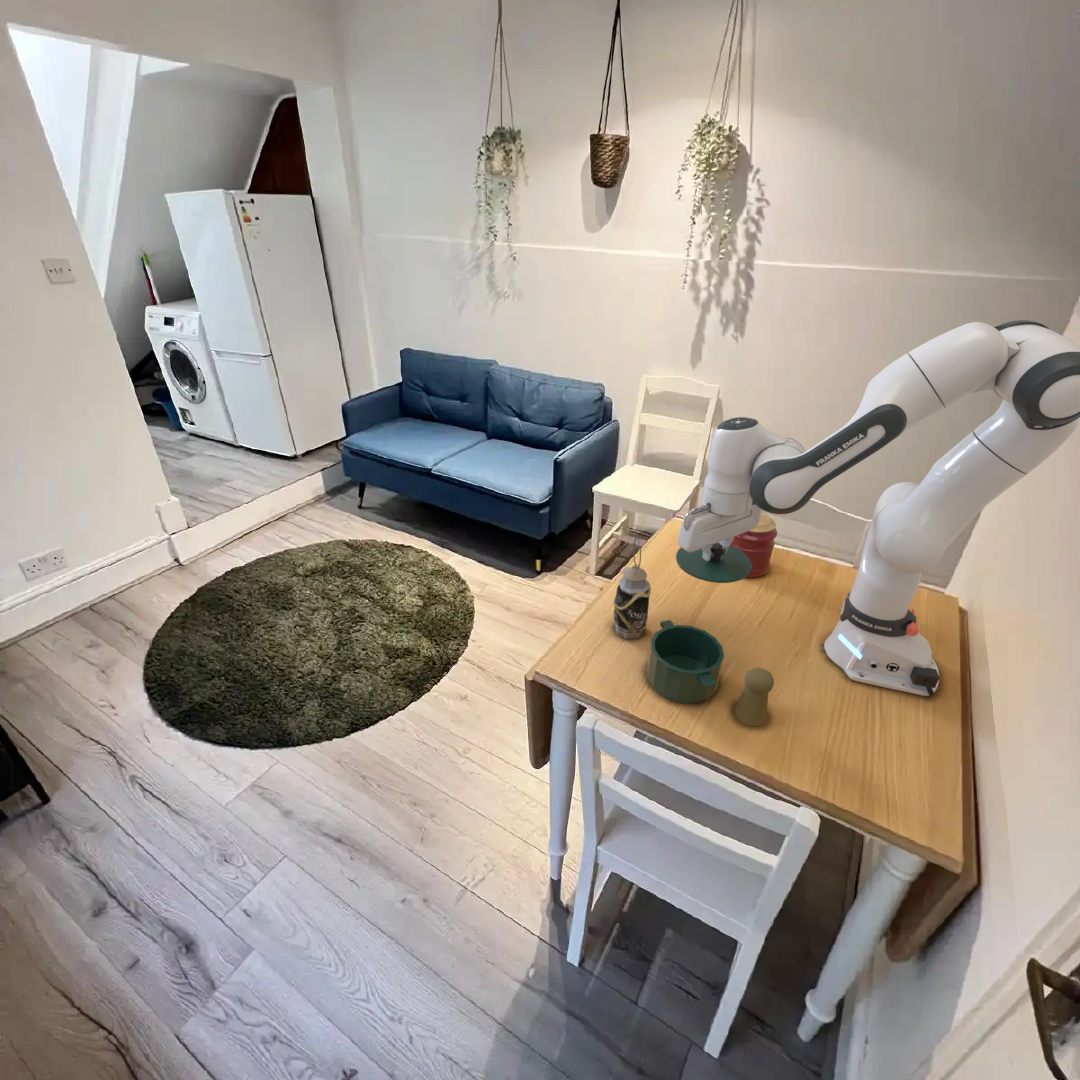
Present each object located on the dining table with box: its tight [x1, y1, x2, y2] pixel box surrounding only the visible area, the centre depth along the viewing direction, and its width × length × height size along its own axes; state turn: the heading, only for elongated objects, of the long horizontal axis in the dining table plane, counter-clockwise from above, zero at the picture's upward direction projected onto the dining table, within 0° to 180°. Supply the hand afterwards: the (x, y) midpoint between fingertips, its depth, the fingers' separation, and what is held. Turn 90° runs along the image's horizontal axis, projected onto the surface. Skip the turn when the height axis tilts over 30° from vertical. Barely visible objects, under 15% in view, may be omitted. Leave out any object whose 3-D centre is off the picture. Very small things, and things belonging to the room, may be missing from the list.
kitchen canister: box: [730, 511, 778, 579], centre depth 156 cm, size 13×13×18 cm
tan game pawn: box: [734, 667, 775, 728], centre depth 111 cm, size 6×6×11 cm
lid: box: [675, 542, 752, 584], centre depth 122 cm, size 16×16×5 cm
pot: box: [646, 619, 725, 705], centre depth 121 cm, size 15×20×8 cm
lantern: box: [613, 537, 652, 640], centre depth 130 cm, size 9×8×25 cm
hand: (714, 556), depth 122 cm, fingers closed on lid, 2 cm apart
